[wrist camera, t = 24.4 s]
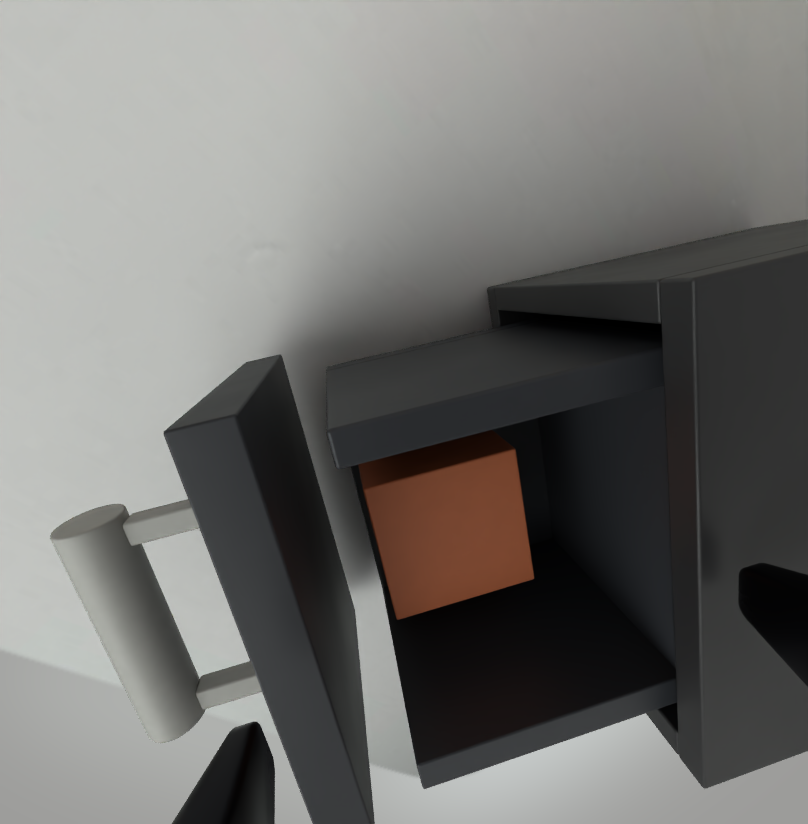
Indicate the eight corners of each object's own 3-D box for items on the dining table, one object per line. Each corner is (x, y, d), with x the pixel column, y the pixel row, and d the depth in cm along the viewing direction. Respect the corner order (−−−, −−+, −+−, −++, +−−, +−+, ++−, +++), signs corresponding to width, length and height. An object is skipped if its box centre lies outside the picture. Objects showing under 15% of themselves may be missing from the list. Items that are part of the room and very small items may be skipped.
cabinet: (526, 558, 19) (703, 791, 10) (486, 287, 16) (693, 278, 7) (750, 492, 21) (1089, 648, 12) (755, 227, 17) (1231, 152, 8)
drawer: (218, 650, 17) (135, 924, 10) (113, 392, 14) (-121, 499, 7) (561, 549, 19) (719, 719, 11) (531, 297, 16) (716, 299, 8)
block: (353, 438, 15) (362, 489, 11) (468, 409, 15) (516, 448, 11) (379, 542, 16) (396, 621, 12) (486, 512, 16) (535, 579, 12)
